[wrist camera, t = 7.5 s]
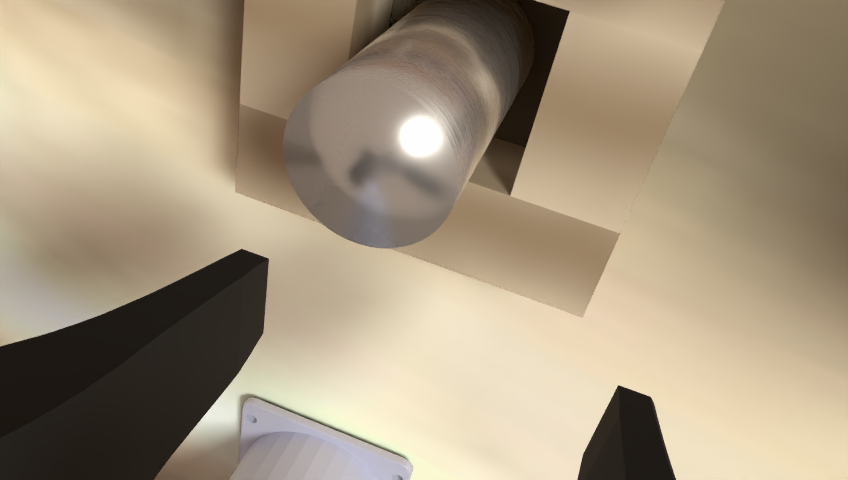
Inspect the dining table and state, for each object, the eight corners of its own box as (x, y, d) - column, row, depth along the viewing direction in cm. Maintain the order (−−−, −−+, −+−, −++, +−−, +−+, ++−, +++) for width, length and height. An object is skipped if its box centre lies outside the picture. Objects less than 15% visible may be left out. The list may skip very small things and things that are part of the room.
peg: (518, 120, 21) (440, 269, 14) (403, 89, 21) (280, 219, 15) (548, -3, 19) (474, 107, 12) (420, -33, 19) (285, 56, 13)
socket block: (593, 260, 22) (582, 317, 20) (281, 151, 24) (235, 192, 21) (756, -114, 16) (769, -97, 13) (315, -231, 17) (255, -234, 15)
